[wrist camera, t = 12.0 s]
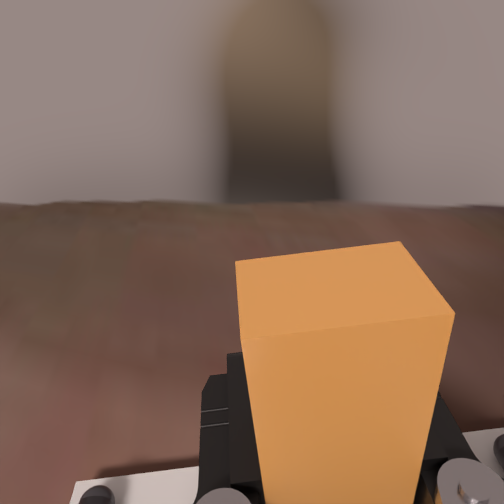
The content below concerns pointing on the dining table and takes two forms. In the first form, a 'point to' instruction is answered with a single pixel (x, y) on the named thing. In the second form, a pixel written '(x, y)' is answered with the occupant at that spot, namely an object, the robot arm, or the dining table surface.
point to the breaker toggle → (341, 371)
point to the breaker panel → (186, 479)
